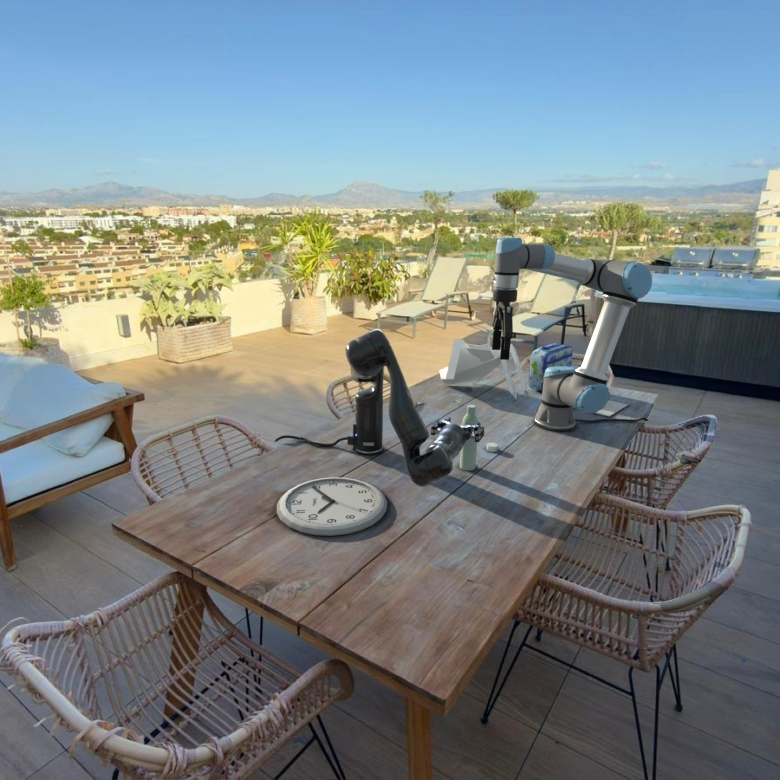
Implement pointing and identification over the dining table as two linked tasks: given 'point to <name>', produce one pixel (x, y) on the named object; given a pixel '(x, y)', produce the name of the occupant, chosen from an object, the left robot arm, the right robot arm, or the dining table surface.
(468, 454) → the bottle
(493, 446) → the cap
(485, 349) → the white plastic object
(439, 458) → the left robot arm
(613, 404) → the invitation card
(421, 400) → the fork
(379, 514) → the wall clock
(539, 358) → the lunch box
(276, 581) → the dining table surface
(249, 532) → the dining table surface
